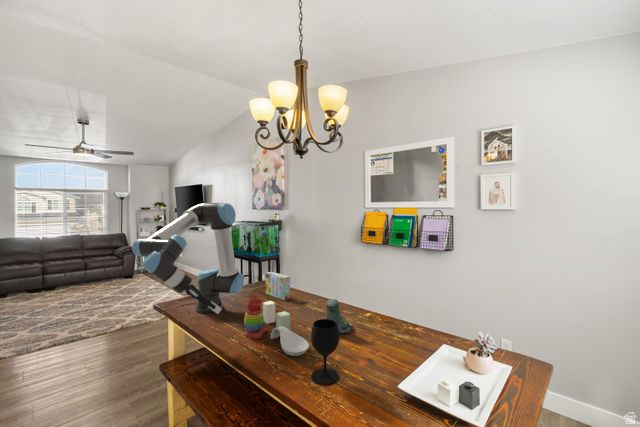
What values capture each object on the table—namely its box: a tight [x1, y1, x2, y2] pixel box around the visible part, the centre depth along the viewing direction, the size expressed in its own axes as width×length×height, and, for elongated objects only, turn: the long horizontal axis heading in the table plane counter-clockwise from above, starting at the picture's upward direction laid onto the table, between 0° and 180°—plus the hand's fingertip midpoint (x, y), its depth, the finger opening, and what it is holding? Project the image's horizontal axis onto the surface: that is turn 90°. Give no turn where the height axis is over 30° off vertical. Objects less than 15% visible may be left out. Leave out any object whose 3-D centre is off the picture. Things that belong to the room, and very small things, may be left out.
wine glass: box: [310, 318, 340, 386], centre depth 109 cm, size 10×10×20 cm
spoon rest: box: [269, 326, 310, 357], centre depth 131 cm, size 24×12×7 cm, turn 40°
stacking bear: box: [243, 295, 268, 340], centre depth 144 cm, size 11×10×18 cm
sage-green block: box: [275, 310, 291, 337], centre depth 144 cm, size 5×5×10 cm
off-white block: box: [262, 300, 276, 325], centre depth 159 cm, size 5×5×10 cm
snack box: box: [264, 271, 291, 301], centre depth 201 cm, size 21×6×15 cm, turn 46°
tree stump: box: [324, 298, 354, 336], centre depth 149 cm, size 18×20×18 cm
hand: (219, 311), depth 134 cm, fingers closed
